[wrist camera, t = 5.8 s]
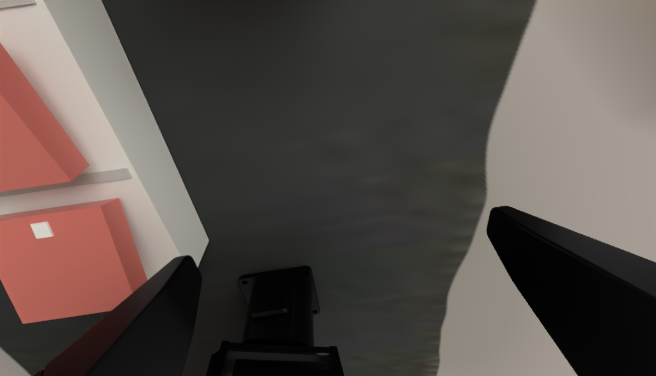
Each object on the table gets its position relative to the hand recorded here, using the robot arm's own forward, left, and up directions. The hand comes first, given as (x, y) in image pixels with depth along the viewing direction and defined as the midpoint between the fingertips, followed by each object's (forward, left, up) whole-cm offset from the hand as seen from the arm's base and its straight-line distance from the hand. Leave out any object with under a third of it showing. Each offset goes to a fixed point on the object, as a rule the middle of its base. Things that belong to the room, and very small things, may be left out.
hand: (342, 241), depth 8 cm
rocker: (-4, +15, -6) cm, 17 cm away
